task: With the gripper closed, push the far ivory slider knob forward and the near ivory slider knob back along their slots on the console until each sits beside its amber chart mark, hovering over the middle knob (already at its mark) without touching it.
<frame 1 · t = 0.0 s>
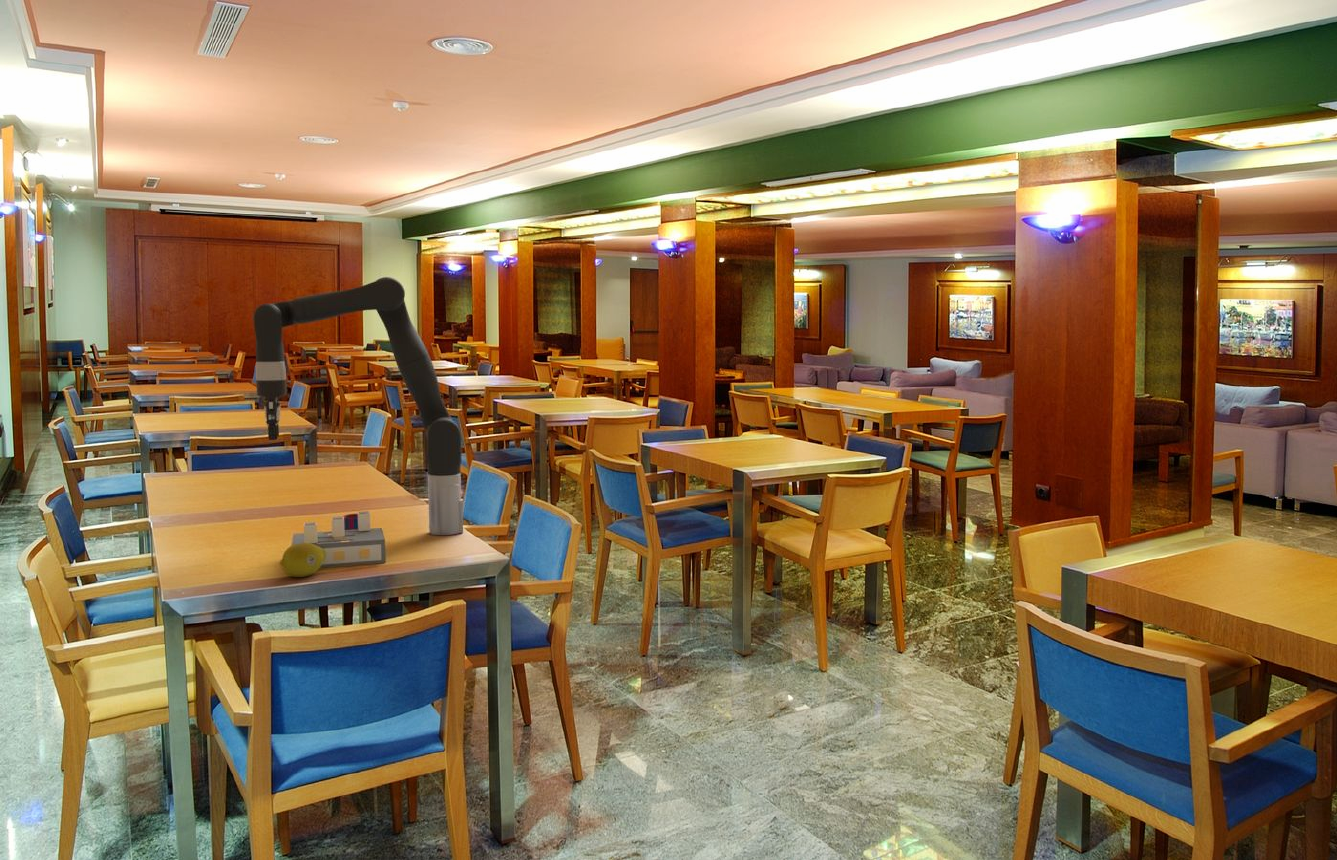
hand: (273, 438, 264), 29 cm above the table, fingers open, 8 cm apart
mug: (351, 540, 274), on the table
console: (339, 559, 250), on the table
slider near: (310, 532, 241), point 9 cm above the table, slide at 0.0 cm
lemon: (304, 577, 233), on the table
slider mid: (338, 526, 249), point 9 cm above the table, slide at 4.0 cm
slider far: (363, 521, 256), point 9 cm above the table, slide at 0.0 cm
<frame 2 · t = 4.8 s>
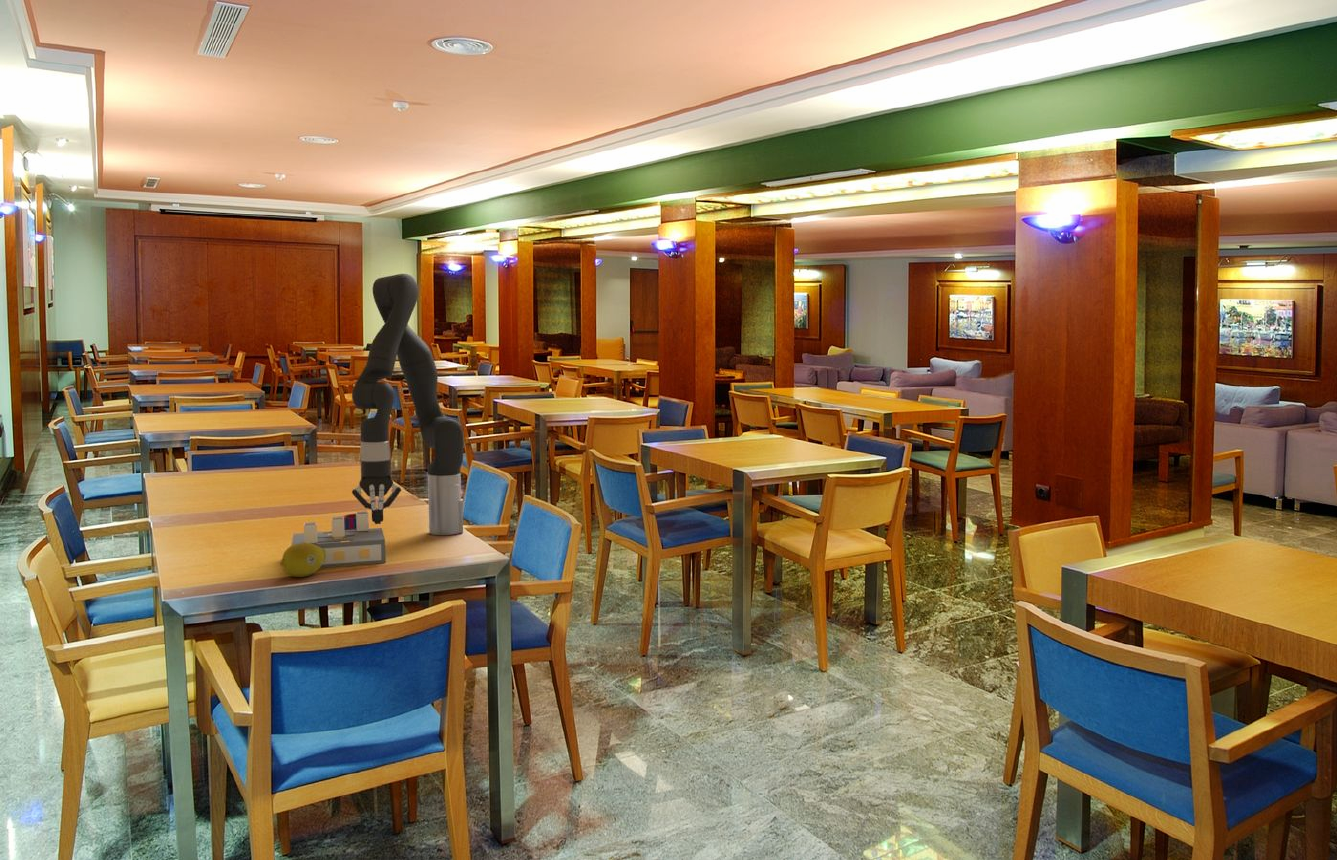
hand: (377, 523, 257), 8 cm above the table, fingers closed
slider far: (362, 521, 256), point 9 cm above the table, slide at 0.4 cm, touching gripper
everything else where it was.
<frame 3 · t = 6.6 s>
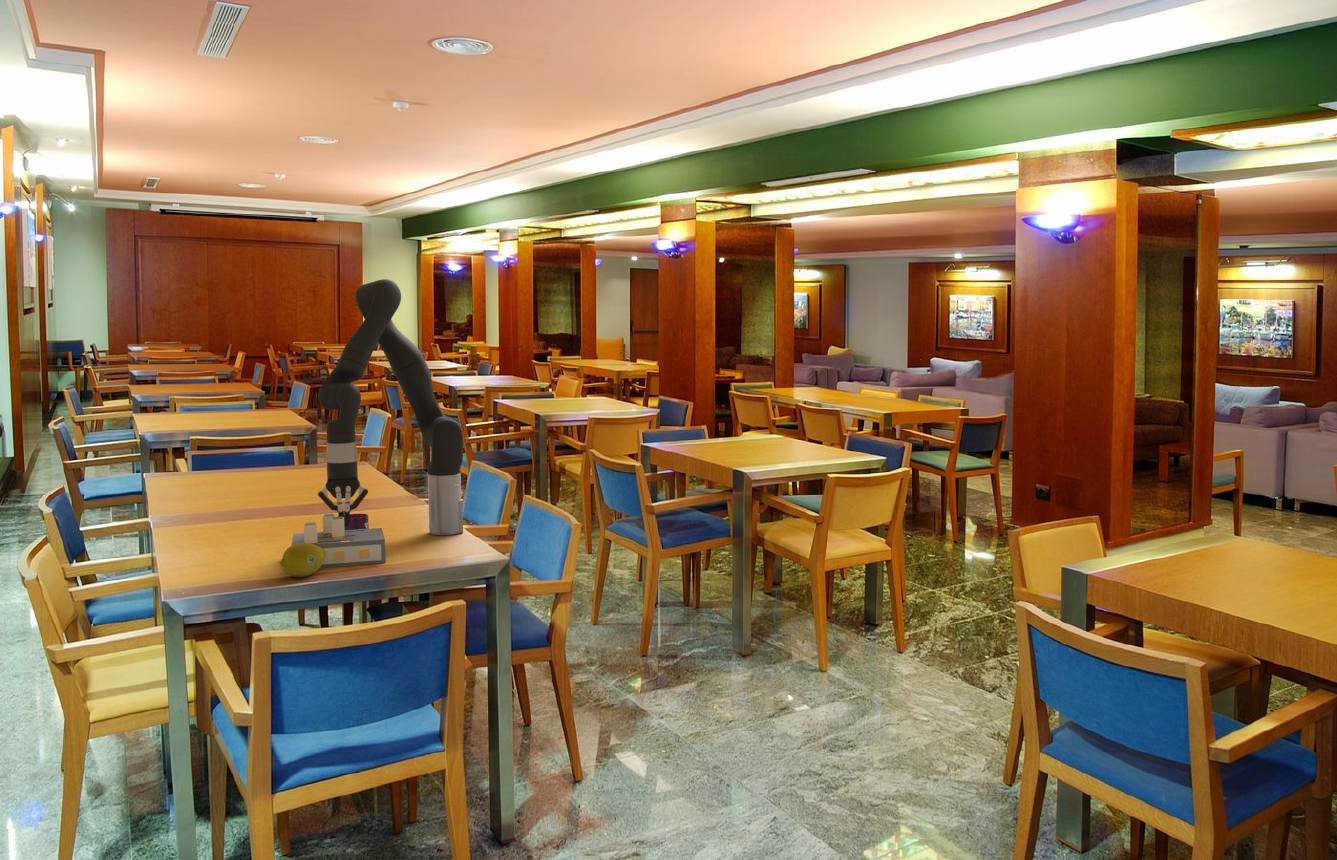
hand: (344, 525, 254), 8 cm above the table, fingers closed
slider far: (328, 523, 253), point 9 cm above the table, slide at 8.7 cm, touching gripper
everything else where it was.
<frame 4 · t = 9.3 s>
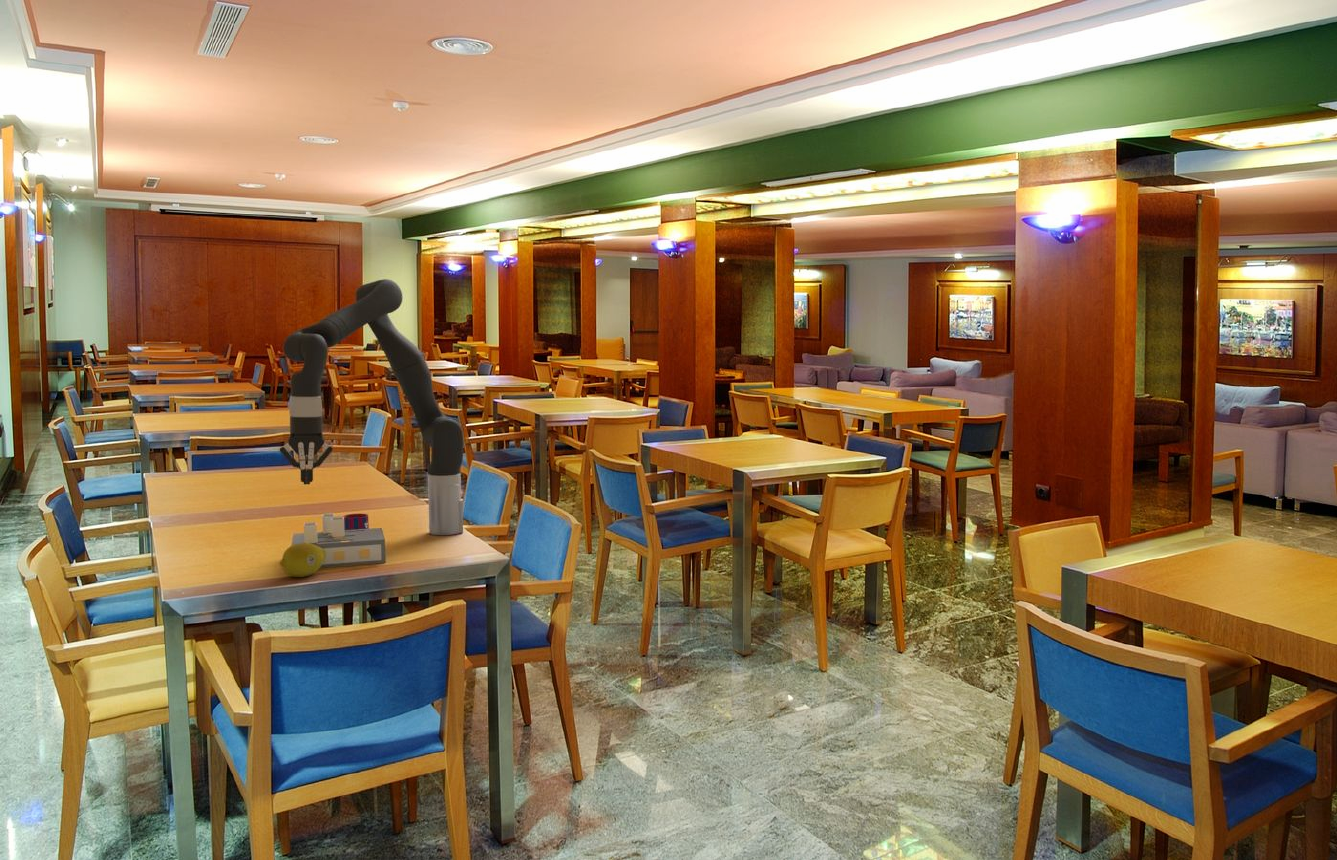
hand: (306, 484, 243), 20 cm above the table, fingers closed
slider far: (328, 523, 253), point 9 cm above the table, slide at 8.8 cm
everything else where it was.
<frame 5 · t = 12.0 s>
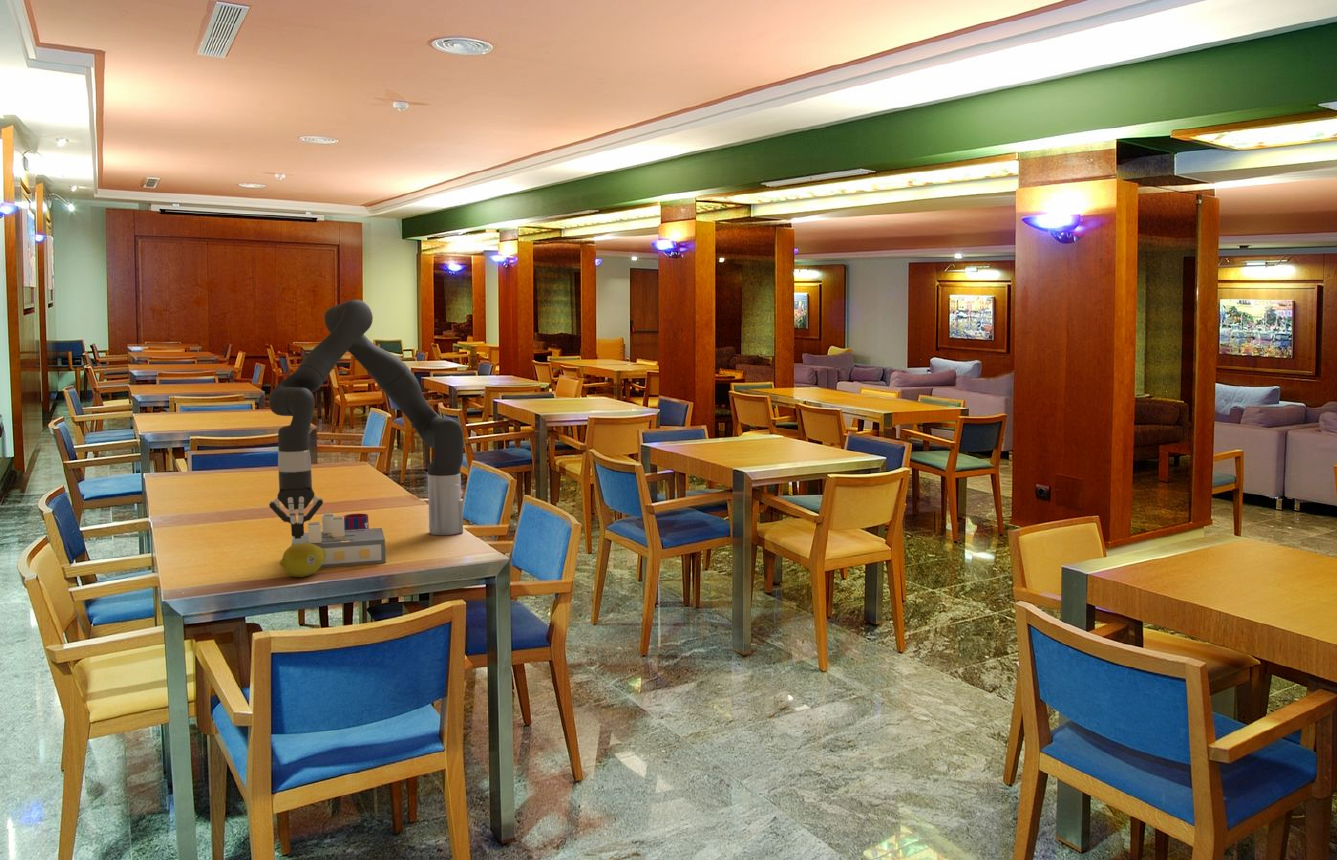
hand: (297, 538, 241), 7 cm above the table, fingers closed
slider near: (314, 532, 242), point 9 cm above the table, slide at 1.0 cm, touching gripper
everything else where it was.
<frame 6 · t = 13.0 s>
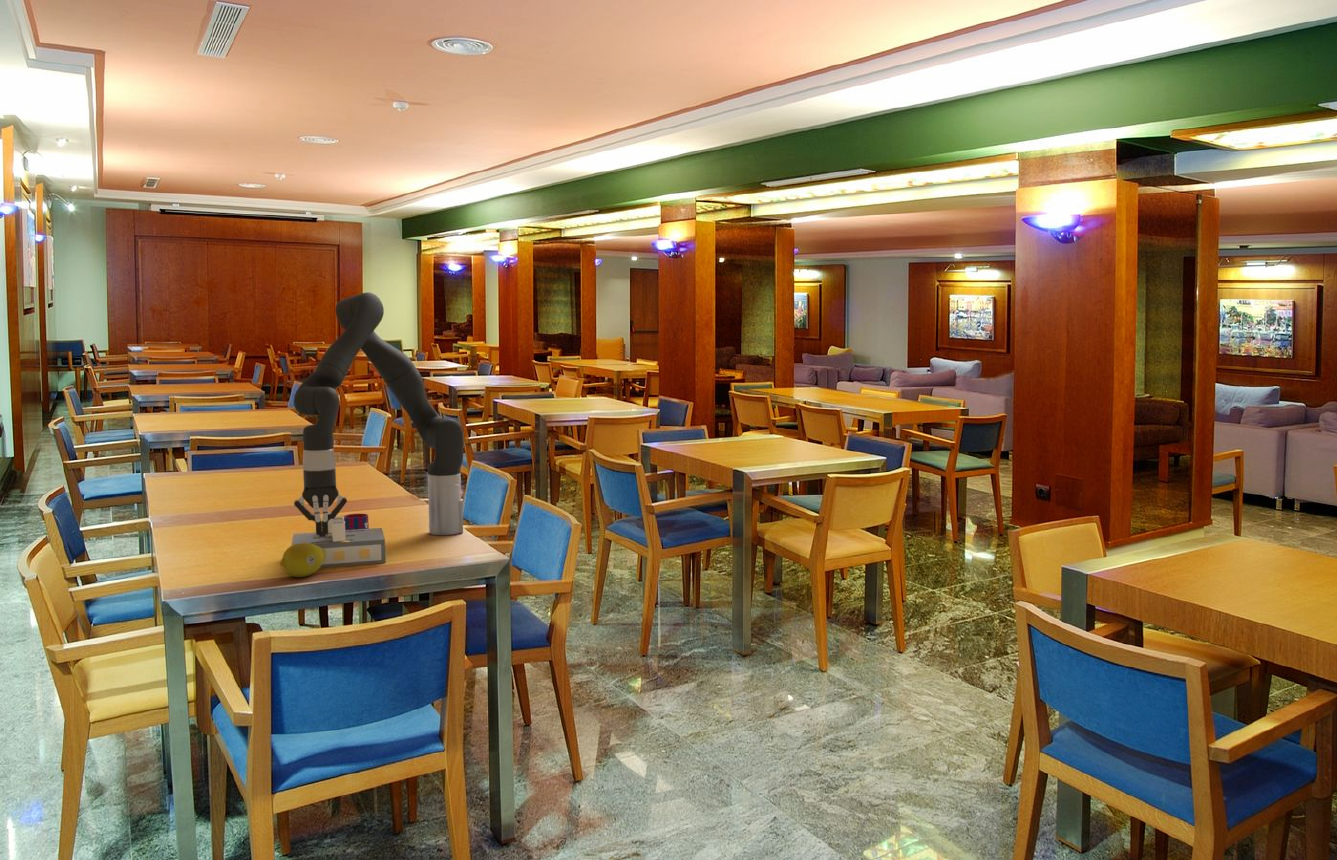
hand: (322, 536, 242), 7 cm above the table, fingers closed
slider near: (338, 530, 243), point 9 cm above the table, slide at 6.6 cm, touching gripper
everything else where it was.
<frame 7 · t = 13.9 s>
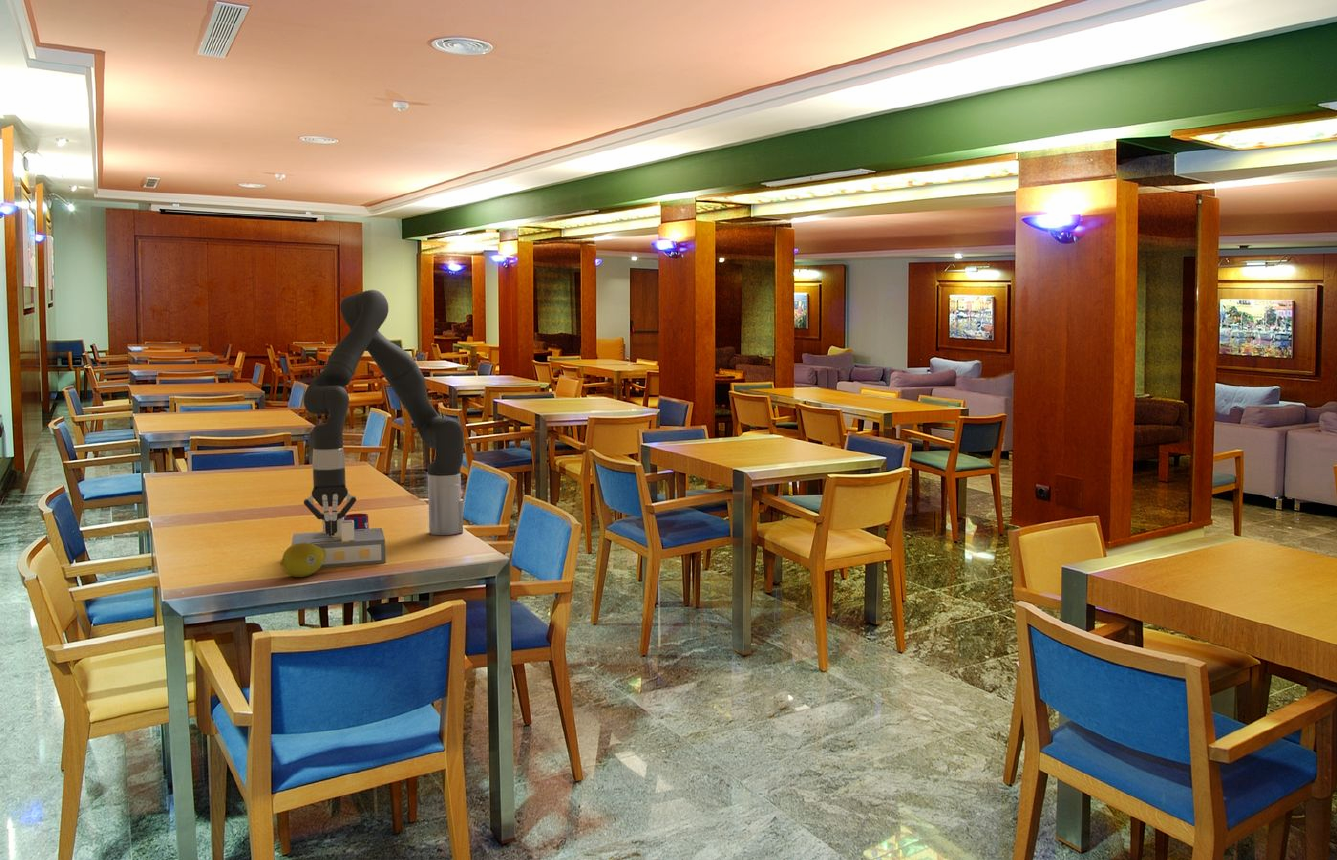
hand: (331, 535, 243), 8 cm above the table, fingers closed
slider near: (347, 530, 244), point 9 cm above the table, slide at 8.7 cm, touching gripper
everything else where it was.
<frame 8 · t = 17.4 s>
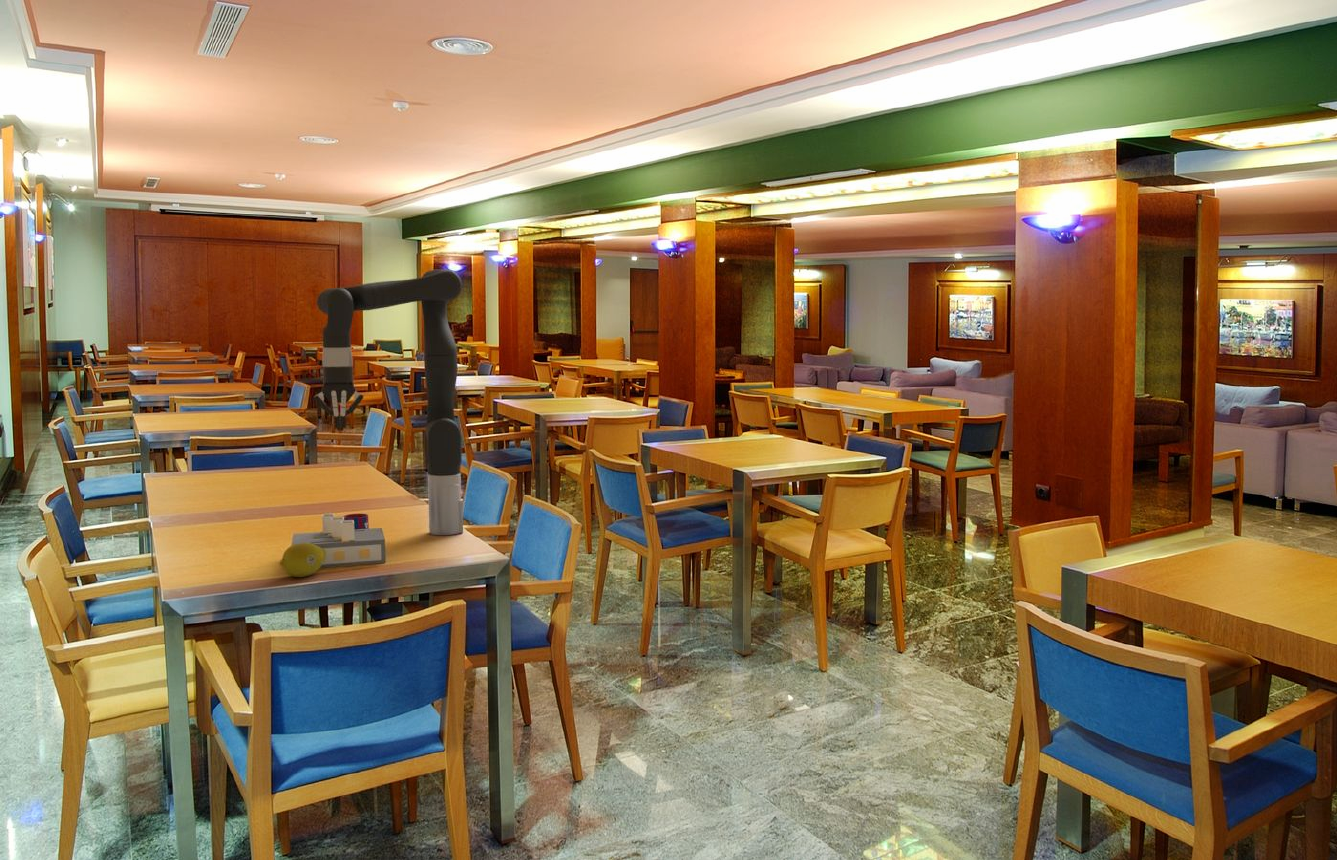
hand: (340, 430, 258), 32 cm above the table, fingers closed
slider near: (347, 530, 244), point 9 cm above the table, slide at 8.8 cm
everything else where it was.
at the end: slider far slide at 8.8 cm; slider near slide at 8.8 cm; slider mid slide at 4.0 cm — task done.
